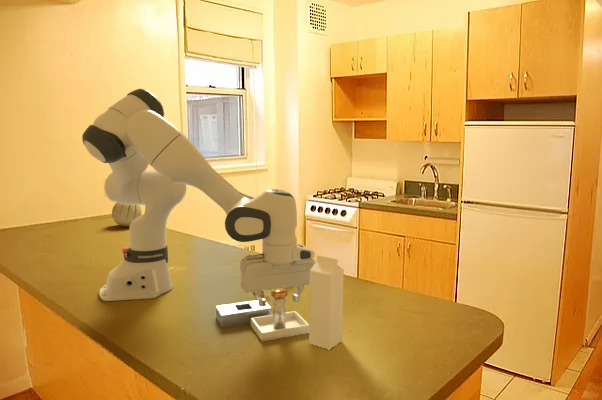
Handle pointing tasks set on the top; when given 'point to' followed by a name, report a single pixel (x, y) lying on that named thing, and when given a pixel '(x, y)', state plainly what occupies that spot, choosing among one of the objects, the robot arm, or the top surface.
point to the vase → (261, 295)
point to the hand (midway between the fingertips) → (279, 303)
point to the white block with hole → (240, 313)
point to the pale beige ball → (125, 213)
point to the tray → (267, 332)
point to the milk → (326, 303)
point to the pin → (279, 307)
